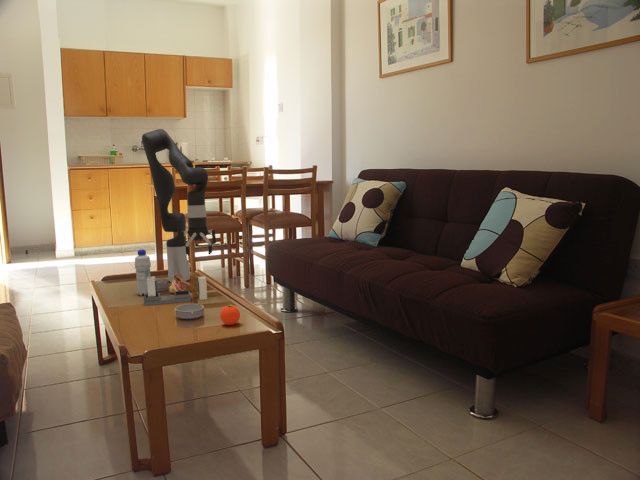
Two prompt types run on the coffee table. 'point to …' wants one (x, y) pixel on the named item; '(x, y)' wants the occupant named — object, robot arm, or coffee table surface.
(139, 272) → the bottle
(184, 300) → the grey boxy piece
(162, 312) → the coffee table surface
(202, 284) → the block
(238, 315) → the clementine
